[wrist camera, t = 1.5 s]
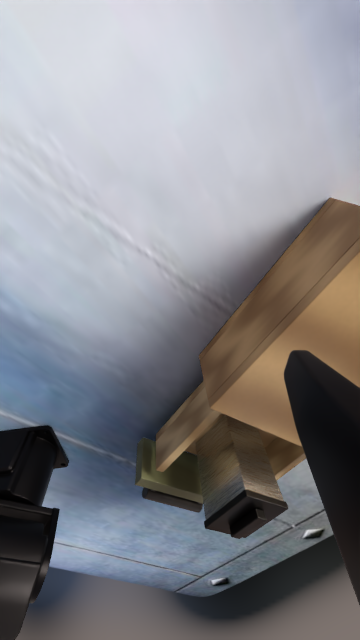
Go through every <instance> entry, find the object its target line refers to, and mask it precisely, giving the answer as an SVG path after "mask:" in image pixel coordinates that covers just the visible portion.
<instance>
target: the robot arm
mask: <svg viewBox="0 0 360 640" xmlns="http://www.w3.org/2000/svg"><path fill="white" fill-rule="evenodd" d="M284 381H285V385H286V389H287V393H288V398H289V402H290V406H291V410H292V414H293V418H294V423H295V426H296V430H297V433H298V436H299V439H300V442H301V445H302V447H303V450H304V453H305V456H306V458H307V461H308V464H309V467H310V469H311V472H312V475H313V478H314V480H315V483H316V486H317V489H318V492H319V494H320V497H321V500H322V503H323V505H324V508H325V511H326V514H327V516H328V519H329V522H330V525H331V527H332V530H333V533H334V536H335V538H336V541H337V544H338V547H339V550H340V552H341V555H342V557H343V561H344V563H345V566H346V569H347V571H348V574H349V577H350V580H351V583H352V585H353V588H354V591H355V594H356V596H357V599H358V602H359V605H360V388H359V387H358V386H356V385H355V384H354V383H352V382H351V381H349V380H348V379H347V378H345V377H344V376H343V375H341V374H340V373H338V372H337V371H336V370H334V369H333V368H331V367H330V366H329V365H327V364H326V363H324V362H323V361H322V360H320V359H319V358H317V357H316V356H315V355H313V354H312V353H311V352H309V351H307V350H293V351H291V352H290V354H289V357H288V361H287V364H286V367H285V370H284ZM68 463H69V460H68V458H67V456H66V454H65V452H64V450H63V448H62V447H61V445H60V443H59V441H58V439H57V437H56V435H55V433H54V431H53V429H52V428H51V427H50V426H38V427H31V428H23V429H15V430H8V431H0V640H15V639H16V637H17V636H18V634H19V632H20V630H21V627H22V624H23V620H24V618H25V615H26V612H27V608H28V605H29V603H33V602H34V601H35V600H36V598H37V596H38V594H39V592H40V590H41V587H42V585H43V582H44V579H45V576H46V573H47V570H48V567H49V563H50V559H51V555H52V549H53V544H54V538H55V533H56V527H57V521H58V516H59V510H60V509H57V508H53V509H51V508H46V507H41V506H42V503H43V500H44V497H45V494H46V491H47V488H48V484H49V481H50V478H51V475H52V472H53V469H55V468H63V467H67V466H68Z"/></svg>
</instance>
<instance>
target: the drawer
mask: <svg viewBox="0 0 360 640" xmlns="http://www.w3.org/2000/svg"><path fill="white" fill-rule="evenodd" d="M224 415H225V414H222V413H220V412H218V411H215V410H213V409H210V407H209V402H208V398H207V393H206V389H205V384H204V380H203V382H202V383H201V384H200V385H199V386H198V387H197V388H196V390H195V391H194V392H193V393H192V394H191V395H190V396H189V397H188V399H187V400H186V401H185V402H184V403H183V404H182V405H181V406H180V408H179V409H178V410H177V411H176V412H175V413H174V414H173V415H172V417H171V418H170V419H169V420H168V421H167V422H166V423H165V425H164V426H163V427H162V428H161V429H160V430H159V431H158V432H157V434H156V441H153V440H150V439H147V438H144V437H143V438H142V439H141V440H140V441H139V443H138V446H137V462H136V478H135V485H138V486H141V487H144V488H143V491H142V497H143V498H144V499H148V500H152V501H156V502H160V503H163V504H167V505H171V506H175V507H179V508H183V509H186V510H190V511H194V512H200V511H201V509H202V506H203V497H202V489H201V482H200V474H199V467H198V459H197V452H196V443H197V442H198V441H199V440H200V439H201V438H202V437H203V436H204V435H205V434H206V433H207V432H208V431H209V430H210V429H211V428H212V427H213V426H214V425H215V424H216V423H217V422H218V421H219V420H220V419H221V418H222V417H223V416H224ZM258 431H259V434H260V437H261V439H262V442H263V445H264V448H265V450H266V453H267V456H268V459H269V462H270V464H271V467H272V470H273V473H274V475H275V478H276V481H277V480H278V479H279V478H281V477H282V476H283V475H285V474H286V473H287V472H288V471H290V470H291V469H292V468H294V467H295V466H296V465H298V464H299V463H300V462H302V461H303V460H304V459H306V456H305V453H304V450H303V447H301V446H299V445H296V444H294V443H292V442H289V441H287V440H284V439H282V438H280V437H277V436H275V435H273V434H270V433H268V432H265V431H263V430H261V429H258ZM185 451H187V452H185ZM188 452H190V453H188ZM191 453H193V454H191ZM194 454H196V455H194Z"/></svg>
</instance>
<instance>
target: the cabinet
mask: <svg viewBox="0 0 360 640" xmlns="http://www.w3.org/2000/svg"><path fill="white" fill-rule="evenodd" d="M293 350H307V351H309V352H311V353H312V354H313V355H315V356H316V357H317V358H319V359H320V360H322V361H323V362H324V363H326V364H327V365H329V366H330V367H331V368H333V369H334V370H336V371H337V372H338V373H340V374H341V375H343V376H344V377H345V378H347V379H348V380H349V381H351V382H352V383H354V384H355V385H356V386H358V387H359V388H360V206H358V205H355V204H351V203H348V202H344V201H341V200H337V199H333V198H329V199H328V201H327V202H326V203H325V204H324V205H323V207H322V208H321V209H320V210H319V212H318V213H317V214H316V215H315V216H314V218H313V219H312V220H311V221H310V222H309V224H308V225H307V226H306V227H305V228H304V230H303V231H302V232H301V233H300V234H299V236H298V237H297V238H296V239H295V240H294V242H293V243H292V244H291V245H290V246H289V248H288V249H287V250H286V251H285V252H284V254H283V255H282V256H281V257H280V258H279V260H278V261H277V262H276V263H275V264H274V266H273V267H272V268H271V269H270V270H269V272H268V273H267V274H266V275H265V276H264V278H263V279H262V280H261V281H260V283H259V284H258V285H257V286H256V287H255V289H254V290H253V291H252V292H251V293H250V295H249V296H248V297H247V298H246V299H245V301H244V302H243V303H242V304H241V305H240V307H239V308H238V309H237V310H236V311H235V313H234V314H233V315H232V316H231V317H230V319H229V320H228V321H227V322H226V323H225V325H224V326H223V327H222V328H221V329H220V331H219V332H218V333H217V334H216V335H215V337H214V338H213V339H212V340H211V341H210V343H209V344H208V345H207V346H206V348H205V349H204V350H203V351H202V352H201V354H200V355H199V359H200V364H201V369H202V374H203V379H204V384H205V389H206V393H207V398H208V402H209V407H210V409H213V410H215V411H218V412H220V413H222V414H225V415H227V416H229V417H232V418H234V419H237V420H239V421H241V422H244V423H246V424H249V425H251V426H253V427H256V428H258V429H261V430H263V431H265V432H268V433H270V434H273V435H275V436H277V437H280V438H282V439H284V440H287V441H289V442H292V443H294V444H296V445H299V446H301V447H302V445H301V442H300V439H299V436H298V433H297V430H296V426H295V423H294V418H293V414H292V410H291V406H290V402H289V398H288V393H287V389H286V385H285V381H284V370H285V367H286V364H287V361H288V357H289V354H290V352H291V351H293Z"/></svg>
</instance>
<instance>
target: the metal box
mask: <svg viewBox="0 0 360 640" xmlns="http://www.w3.org/2000/svg"><path fill="white" fill-rule="evenodd" d="M196 452H197V459H198V467H199V474H200V482H201V489H202V497H203V504H204V512H205V519H206V521H204V525H205V528H206V529H210V530H214V531H219V532H223V533H227V534H231V537H234V538H238V539H240V538H242V537H243V538H246V537H247V536H249V535H250V534H252V533H253V532H255V531H256V530H258V529H259V528H261V527H262V526H263V525H265V524H266V523H268V522H269V521H271V520H272V519H274V518H275V517H277V516H278V515H280V514H281V513H283V512H284V511H285V510H287V509H288V506H287V503H286V502H284V500H283V497H282V495H281V492H280V489H279V486H278V484H277V481H276V478H275V475H274V473H273V470H272V467H271V464H270V462H269V459H268V456H267V453H266V450H265V448H264V445H263V442H262V439H261V437H260V434H259V431H258V428H256V427H253V426H251V425H249V424H246V423H244V422H241V421H239V420H237V419H234V418H232V417H229V416H227V415H224V416H223V417H222V418H221V419H220V420H219V421H218V422H217V423H216V424H215V425H214V426H213V427H212V428H211V429H210V430H209V431H208V432H207V433H206V434H205V435H204V436H203V437H202V438H201V439H200V440H199V441H198V442H197V443H196Z"/></svg>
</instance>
